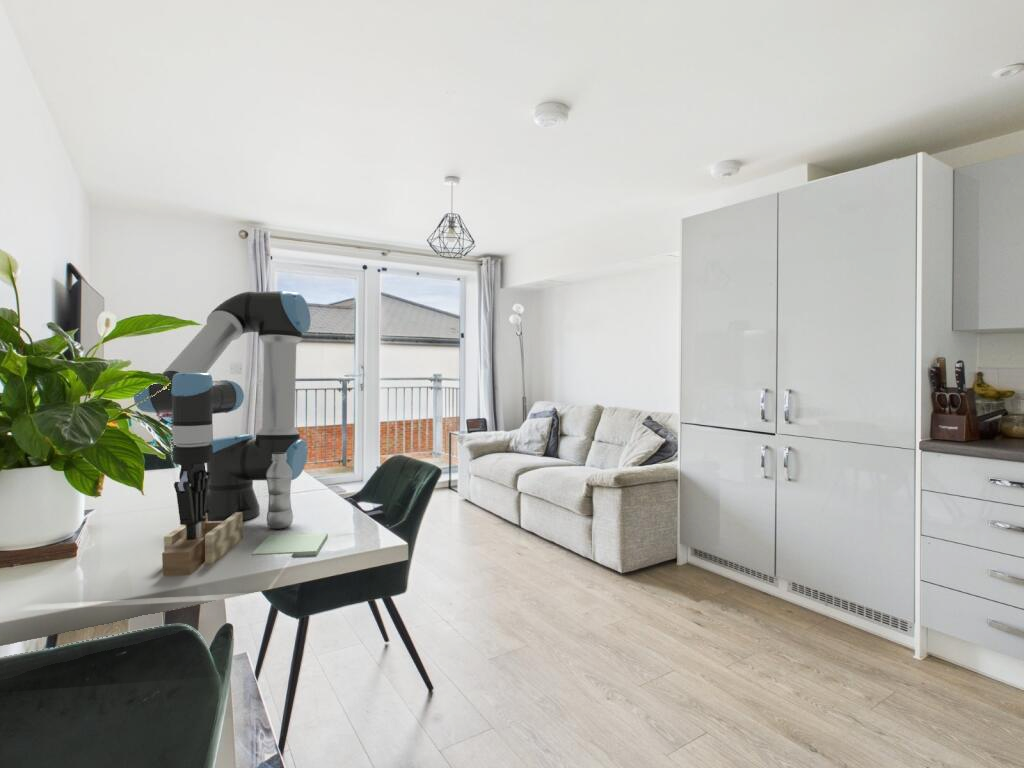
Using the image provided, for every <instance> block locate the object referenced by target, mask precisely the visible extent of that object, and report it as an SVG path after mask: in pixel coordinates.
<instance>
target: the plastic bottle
mask: <svg viewBox="0 0 1024 768" xmlns="http://www.w3.org/2000/svg"><path fill="white" fill-rule="evenodd" d="M271 460H272V461H273V462H272V464H271V465H270V467H269V468H268V470H267V473H266V478H267V480H266V482H267V488H268V489H267V492H268V505H267V507H268V508H267V514H266V524H267V526H268V527H269V528H270V529H276V530H277V529H279V530H280V529H285V528H288V527H290V526H291V525H292V524H293V520H294V514H293V509H292V500H291V491H292V489H291V488H292V486H291V485H292V481H293V480H292V470H291V468H290V466H289V465H288V464H287V462H286V460H287V453H286V452H277V453H272V459H271Z"/></svg>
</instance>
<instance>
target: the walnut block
mask: <svg viewBox="0 0 1024 768" xmlns="http://www.w3.org/2000/svg"><path fill="white" fill-rule="evenodd" d="M161 556H162V557H161V560H162V576H163V577H167V576H170V577H172V576H173V577H174V576H186V575H188V576H190V575H191V574H193V573H194V572H195V571H196V570H197V569H199V568H200V567H201V566H202V565H204V564H203V563H204V562H205V538H195V539H194V540H187V539H179V540H178V541H177V542H175V543H174V544H173V545H172V546H171V547H169V548H168V549H167V550H166V551H164V550H163V552H162V553H161Z"/></svg>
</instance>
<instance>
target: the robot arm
mask: <svg viewBox="0 0 1024 768" xmlns="http://www.w3.org/2000/svg"><path fill="white" fill-rule="evenodd" d="M310 326H311V312H310V308H309V305H308V303H307V301H306V300H305V297H304V296H303V295H301V294H300V293H298V292H294V291H286V290H282V291H246V292H245V291H244V292H241V293H237V294H236V295H233V296H231V297H230V298H228V299H226V300H224V301H223V302H222V303H220V304H219V305H217V306H216V307H215V308H214V309H213V310H212V311H211V312H210V314H208V316H207V318H206V323H205V325H204V326H203V327H202V328H201V330H199V332H198V333H197V334H196V335H195V336H194V337H193V338H192V340H191V341H190V342H189V343H188V344H187V345H186V347H184V349H183V350H181V352H180V353H179V354H178V355H177V357H175V359H174V360H173V361H172V362H171V363H170V364H169V365H168V366H167V368H165V369H164V371H163V372H162V373H161V375H164V376H167V377H168V378H169V380H170V381H171V382H170V381H168V382H170V383H171V384H169V386H167V389H165V390H162V391H161V392H159V393H157V394H156V395H155V396H153V397H151V398H149V399H147V400H146V401H143V402H142V403H139V404H138V405H136V404H135V403H138V402H140V401H142V400H144V399H146V398H147V397H150V396H151V395H154V394H155V393H156V392H157V391H159V390H161V389H162V388H163V386H164V385H161V384H153V385H150V386H149V387H148V388H147V389H145V388H144V389H145V390H144V391H143V389H141V391H139V392H138V393H136V392H135V393H136V394H134V393H133V401H134V404H135V405H136V408H137V409H139V410H140V411H141V412H144V413H151V414H152V413H153V414H172V424H171V425H172V428H171V429H170V431H169V432H170V433H171V434H172V444H174V446H173V447H172V448H171V449H172V451H171V452H172V453H171V454H172V456H171V457H172V463H173V464H174V465H180V472H179V481H175V482H174V483H173V487H174V490H175V492H176V493H175V494H176V498H177V499H176V501H177V508H178V515H179V524H180V526H182V525H185V533H186V539H187V540H194V539H195V538H201V522H200V521H206V518H203V516H205V515H206V513H208V521H225V520H226V519H228V518H229V517H230V516H232V515H233V514H234V513H236V512H242V521H246V520H251V519H253V518H255V517H257V516H259V515H260V513H261V512H260V504H259V501H258V498H257V495H256V493H255V490H254V481H267V478H266V473H267V470H268V468H269V467H270V465H271V464H272V462H273V461H272V460H271V459H272V453H277V452H286V453H287V460H286V462H287V464H288V465H289V466H290V468H291V470H292V480H291V481H293V480H296V479H297V478H299V476H301V474H302V473H303V471H304V469H305V466H306V464H307V460H308V447H307V442H306V440H304V439H302V438H301V435H300V434H301V433H300V431H298V430H297V428H296V427H295V418H296V382H297V381H296V375H297V374H296V373H297V371H296V369H297V345H298V344H299V343H300V342H301V341H302V340H303V334H305V333H307V332H308V331H309V330H310ZM247 333H258V338H259V340H260V341H262V343H263V345H264V346H263V374H262V376H263V377H262V383H263V384H262V411H261V412H262V413H261V415H262V416H261V428H260V429H259V430H258V431H256V433H255V438H254V436H253V434H251V433H243V434H237V435H235V434H234V435H230V436H229V435H227V436H223V437H218V438H214V433H213V432H214V426H213V425H214V424H213V415H214V414H222V413H223V414H224V413H225V414H227V413H230V412H233V411H236V410H237V409H239V408H240V407H241V406H242V404H243V402H244V399H245V398H244V397H245V394H244V391H243V388H242V386H241V385H240V384H238V383H237V382H235V381H233V380H232V381H231V380H226V379H224V380H222V379H221V380H213V376H212V374H211V373H208V372H209V370H210V369H211V368H212V366H214V364H215V363H216V362H217V360H218V359H219V358H220V357H221V355H222V354H223V353H224V352H225V350H226V349H227V348H228V347H229V345H230V344H231V343H232V342H233V341H236V340H239V339H240V338H241V336H243V334H247ZM168 389H170V390H168ZM142 391H143V392H142ZM141 392H142V393H141ZM139 393H141V394H139ZM136 395H138V396H136Z"/></svg>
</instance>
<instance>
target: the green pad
mask: <svg viewBox="0 0 1024 768" xmlns="http://www.w3.org/2000/svg"><path fill="white" fill-rule="evenodd" d="M328 537H329V534H328V532H322V533H321V532H318V533H294V534H271V535H270V534H269V535H268V536H267V537H266V538H265V539H264V540H263V541H262V542H261V543H260V544H259V545H258V546H257V547H256V548H255V549H254V551H252V553H251V556H253V555H254V556H256V555H257V556H258V555H279V554H291V557H307V556H308V555H309V556H308V557H310V556H317V555H318V553H320V551H321V549H322V547H323V546H322V545H324V544H325V542H326V541H327V539H328ZM325 540H326V541H325Z"/></svg>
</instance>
